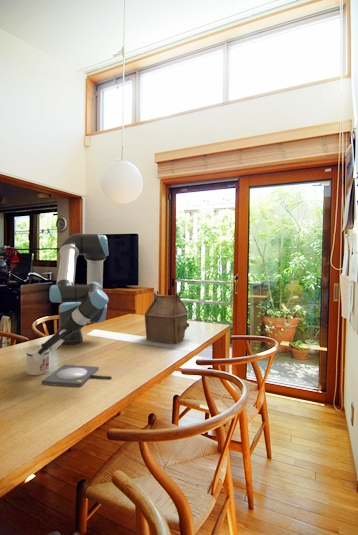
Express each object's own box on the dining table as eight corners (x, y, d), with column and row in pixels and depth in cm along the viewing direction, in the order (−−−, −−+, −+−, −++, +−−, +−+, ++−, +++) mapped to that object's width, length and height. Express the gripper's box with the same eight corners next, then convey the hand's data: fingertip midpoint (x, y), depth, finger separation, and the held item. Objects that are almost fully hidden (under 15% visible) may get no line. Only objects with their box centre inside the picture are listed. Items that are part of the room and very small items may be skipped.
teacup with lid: (43, 376, 123) (43, 348, 123) (21, 375, 123) (21, 347, 123) (55, 365, 135) (56, 340, 135) (35, 365, 135) (36, 339, 135)
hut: (179, 346, 170) (180, 294, 169) (137, 340, 180) (138, 291, 179) (192, 337, 191) (193, 290, 190) (154, 332, 201) (155, 288, 200)
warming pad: (41, 383, 116) (41, 380, 116) (64, 367, 134) (64, 364, 133) (104, 388, 113) (104, 384, 113) (118, 370, 131) (118, 367, 131)
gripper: (70, 333, 114) (33, 370, 115) (95, 320, 138) (63, 350, 140) (57, 318, 114) (20, 355, 116) (84, 308, 139) (53, 339, 141)
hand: (43, 353), depth 128 cm, fingers open, 13 cm apart
